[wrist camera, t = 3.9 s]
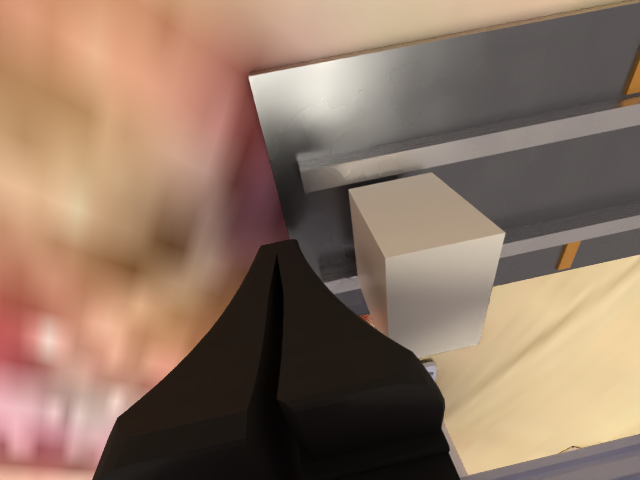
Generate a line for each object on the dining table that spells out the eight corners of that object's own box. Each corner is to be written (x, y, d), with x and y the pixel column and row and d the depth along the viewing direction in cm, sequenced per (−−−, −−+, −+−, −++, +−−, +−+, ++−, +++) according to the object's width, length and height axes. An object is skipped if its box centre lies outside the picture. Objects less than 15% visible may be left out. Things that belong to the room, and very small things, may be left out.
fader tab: (415, 252, 14) (478, 344, 10) (352, 266, 14) (389, 364, 10) (418, 161, 12) (505, 232, 7) (341, 177, 11) (384, 258, 7)
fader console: (698, 221, 18) (752, 244, 16) (308, 305, 17) (314, 341, 15) (874, -46, 12) (1006, -65, 9) (250, 72, 11) (246, 80, 9)
